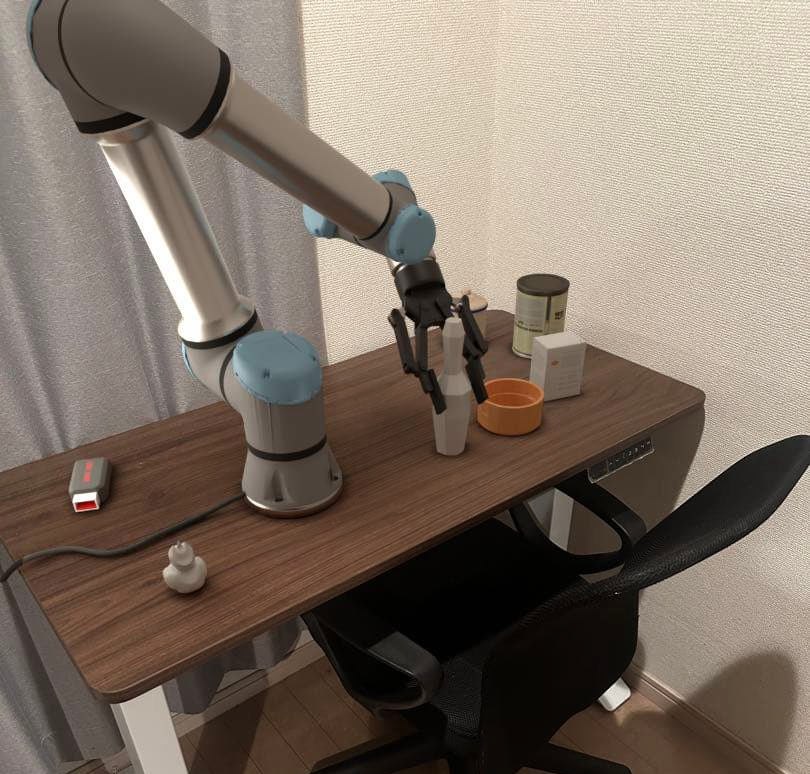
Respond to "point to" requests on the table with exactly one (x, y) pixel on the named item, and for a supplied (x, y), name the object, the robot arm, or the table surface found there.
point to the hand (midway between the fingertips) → (462, 406)
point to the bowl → (511, 406)
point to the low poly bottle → (453, 393)
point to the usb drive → (90, 483)
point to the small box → (558, 364)
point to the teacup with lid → (474, 308)
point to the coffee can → (538, 309)
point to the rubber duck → (184, 569)
